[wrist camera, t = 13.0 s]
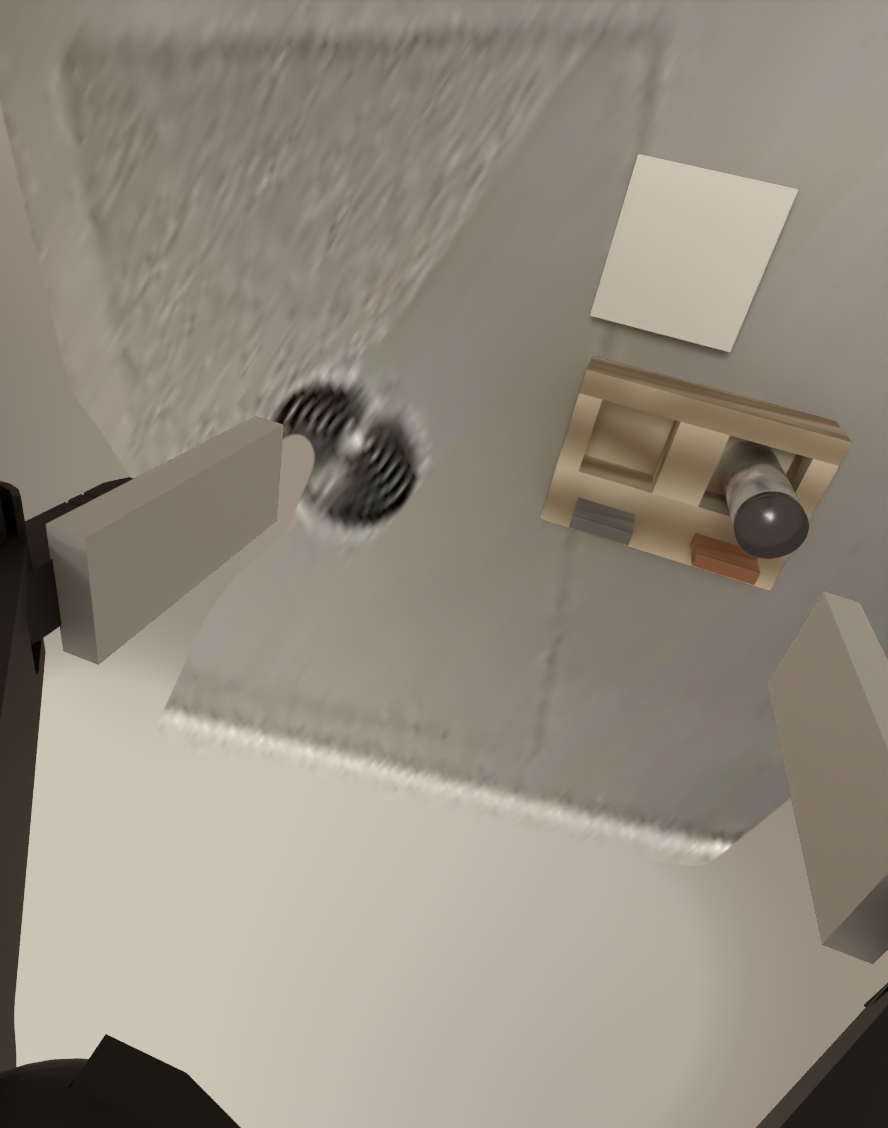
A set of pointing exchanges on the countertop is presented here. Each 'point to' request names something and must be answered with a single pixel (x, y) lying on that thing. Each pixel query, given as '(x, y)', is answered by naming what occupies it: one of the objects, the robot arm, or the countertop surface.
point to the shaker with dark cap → (761, 501)
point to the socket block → (678, 466)
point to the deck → (690, 251)
